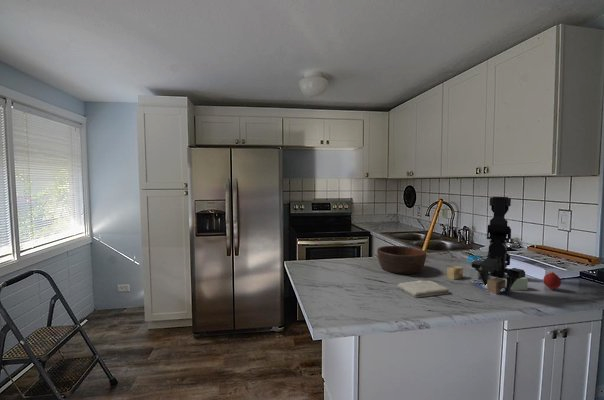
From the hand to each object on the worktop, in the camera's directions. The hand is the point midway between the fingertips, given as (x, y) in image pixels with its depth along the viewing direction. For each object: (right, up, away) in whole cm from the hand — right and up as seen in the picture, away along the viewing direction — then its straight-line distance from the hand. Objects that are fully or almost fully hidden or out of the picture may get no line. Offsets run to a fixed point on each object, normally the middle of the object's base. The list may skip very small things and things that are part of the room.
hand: (496, 288), depth 123 cm
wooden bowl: (-29, 0, +33) cm, 44 cm away
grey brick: (+3, 0, +20) cm, 20 cm away
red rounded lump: (+26, -1, +3) cm, 26 cm away
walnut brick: (0, -1, 0) cm, 1 cm away
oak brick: (-8, 0, +19) cm, 20 cm away
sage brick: (+12, -1, +4) cm, 12 cm away
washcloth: (-31, -2, 0) cm, 31 cm away
